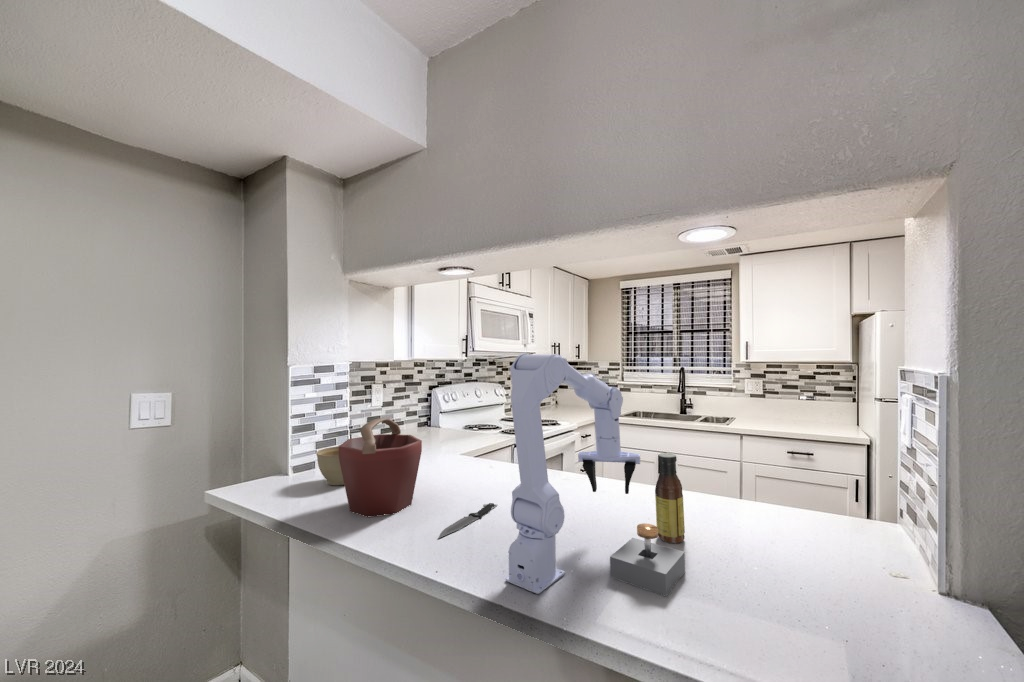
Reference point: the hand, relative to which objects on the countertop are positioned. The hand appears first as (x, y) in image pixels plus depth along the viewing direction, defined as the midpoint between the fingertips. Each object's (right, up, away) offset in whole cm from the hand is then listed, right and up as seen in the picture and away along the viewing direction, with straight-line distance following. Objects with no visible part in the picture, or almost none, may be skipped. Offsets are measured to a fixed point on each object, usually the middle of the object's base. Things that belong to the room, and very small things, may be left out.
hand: (610, 491), depth 106 cm
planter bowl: (-82, -12, +44) cm, 94 cm away
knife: (-36, -11, +10) cm, 39 cm away
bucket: (-63, -12, +21) cm, 67 cm away
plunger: (+3, -7, -19) cm, 20 cm away
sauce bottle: (+13, -11, -2) cm, 17 cm away
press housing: (+3, -10, -19) cm, 21 cm away
